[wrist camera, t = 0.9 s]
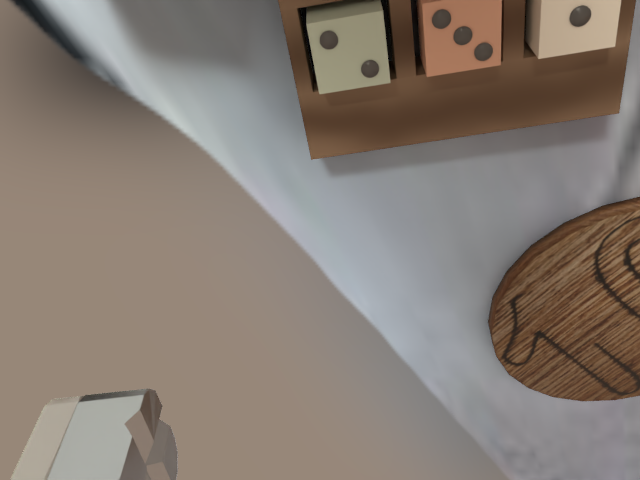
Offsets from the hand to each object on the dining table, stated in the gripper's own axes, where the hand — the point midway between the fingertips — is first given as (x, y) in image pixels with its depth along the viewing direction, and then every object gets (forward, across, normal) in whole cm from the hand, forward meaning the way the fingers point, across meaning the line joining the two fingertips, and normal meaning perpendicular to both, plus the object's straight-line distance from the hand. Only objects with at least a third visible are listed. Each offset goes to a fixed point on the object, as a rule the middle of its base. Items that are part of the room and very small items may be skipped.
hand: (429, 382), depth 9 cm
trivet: (+38, -24, +32) cm, 55 cm away
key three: (+33, -7, +3) cm, 34 cm away
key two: (+34, -1, +3) cm, 34 cm away
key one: (+33, -14, +3) cm, 36 cm away
